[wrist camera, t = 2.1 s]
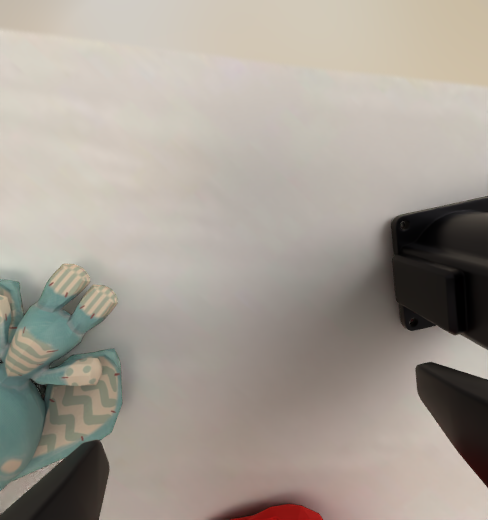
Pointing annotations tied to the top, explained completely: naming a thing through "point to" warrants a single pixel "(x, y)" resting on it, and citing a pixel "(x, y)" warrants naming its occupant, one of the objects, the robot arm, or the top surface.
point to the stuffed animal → (53, 374)
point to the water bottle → (284, 513)
